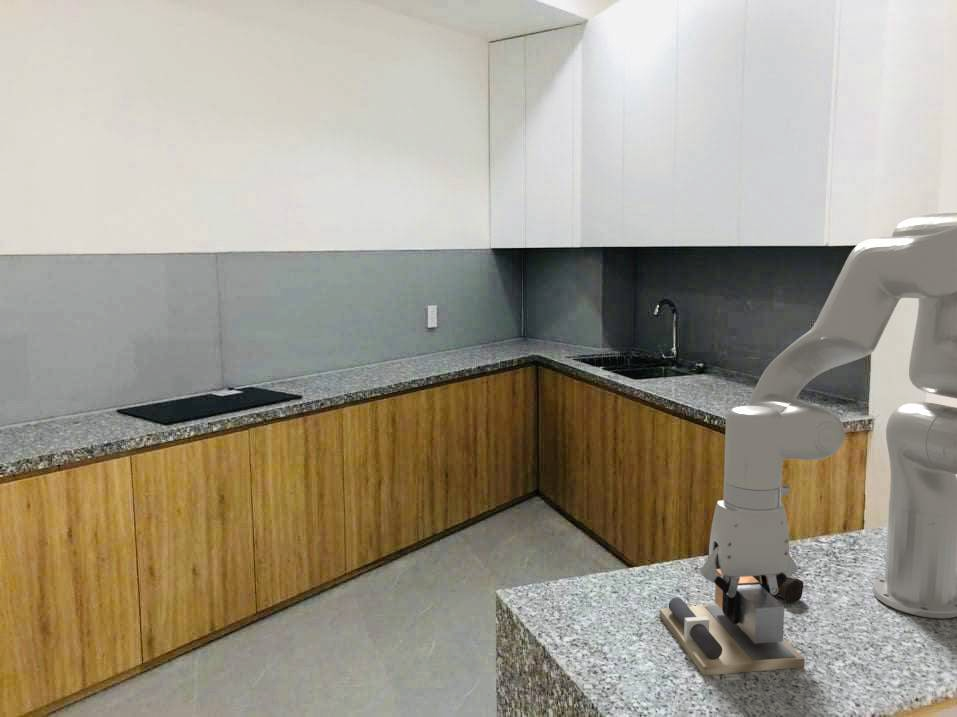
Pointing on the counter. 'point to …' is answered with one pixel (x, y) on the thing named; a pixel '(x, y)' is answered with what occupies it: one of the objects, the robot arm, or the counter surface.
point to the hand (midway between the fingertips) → (747, 616)
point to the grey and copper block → (756, 611)
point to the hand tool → (787, 588)
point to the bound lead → (695, 628)
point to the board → (732, 646)
